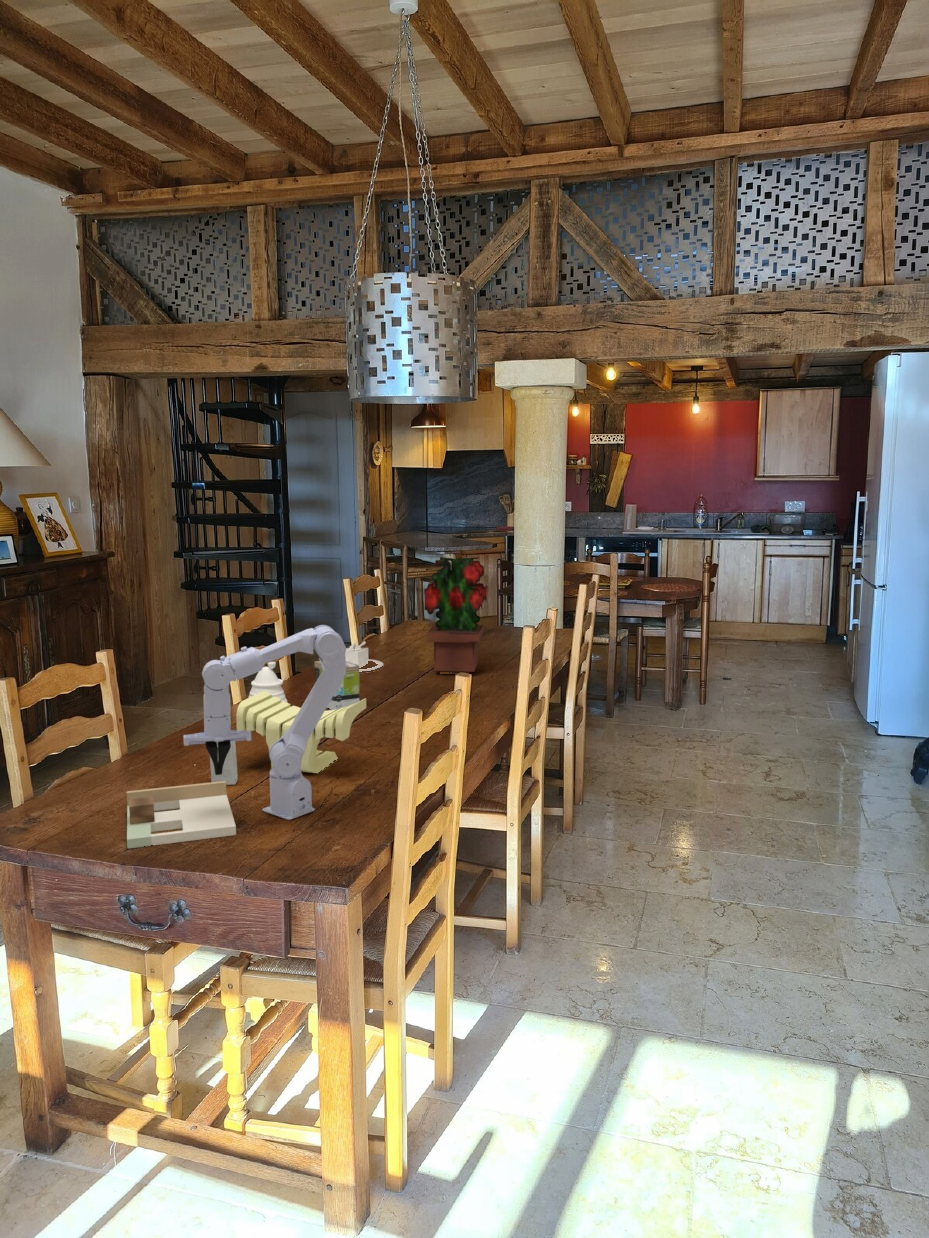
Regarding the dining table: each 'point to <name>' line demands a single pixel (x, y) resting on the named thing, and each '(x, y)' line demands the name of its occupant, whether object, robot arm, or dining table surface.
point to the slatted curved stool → (278, 717)
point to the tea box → (343, 686)
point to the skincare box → (227, 767)
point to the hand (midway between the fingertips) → (218, 773)
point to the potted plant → (456, 613)
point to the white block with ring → (360, 657)
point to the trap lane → (183, 814)
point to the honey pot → (268, 683)
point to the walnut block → (141, 810)
